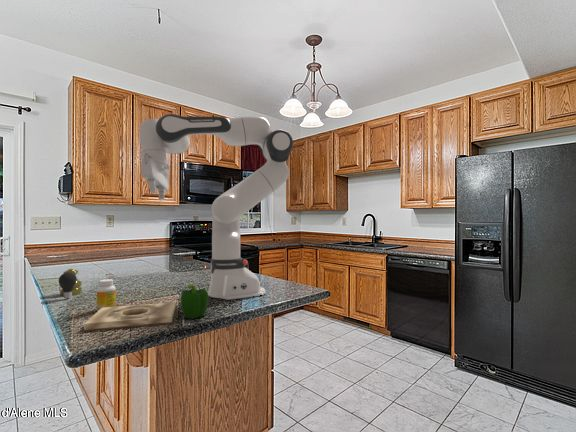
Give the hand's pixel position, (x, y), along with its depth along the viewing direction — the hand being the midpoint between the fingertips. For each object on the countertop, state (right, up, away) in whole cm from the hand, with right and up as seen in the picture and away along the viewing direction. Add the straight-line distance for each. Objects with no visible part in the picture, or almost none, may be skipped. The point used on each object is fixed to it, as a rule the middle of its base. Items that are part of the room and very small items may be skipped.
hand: (157, 196), depth 117 cm
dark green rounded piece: (-39, -39, +10) cm, 56 cm away
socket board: (+2, -38, -22) cm, 44 cm away
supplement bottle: (-12, -38, -12) cm, 42 cm away
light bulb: (-35, -39, +2) cm, 52 cm away
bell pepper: (+19, -38, -20) cm, 47 cm away
